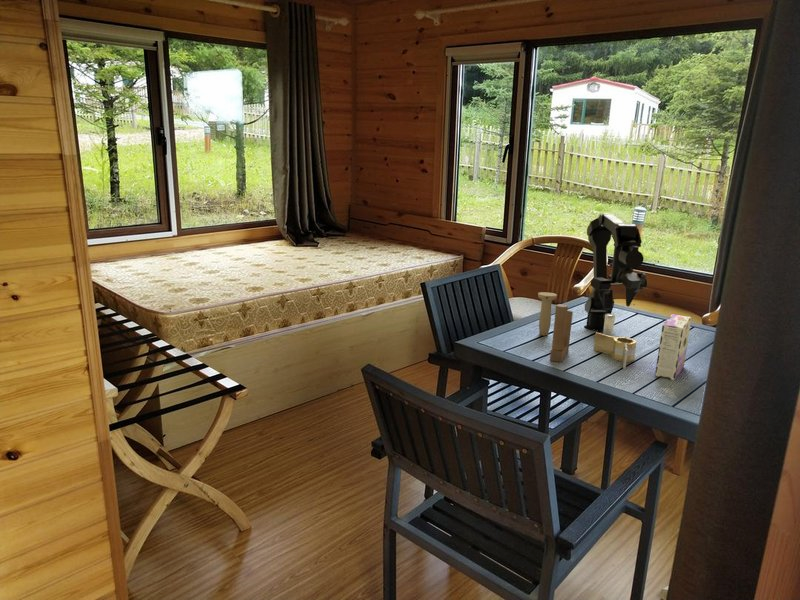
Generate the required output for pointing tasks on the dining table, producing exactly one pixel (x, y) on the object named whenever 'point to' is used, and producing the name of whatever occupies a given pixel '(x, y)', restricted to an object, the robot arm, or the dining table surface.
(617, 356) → the hinge
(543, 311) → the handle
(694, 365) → the dining table surface
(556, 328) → the wooden block
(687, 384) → the dining table surface
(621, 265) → the robot arm
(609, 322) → the pin
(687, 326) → the candy box
